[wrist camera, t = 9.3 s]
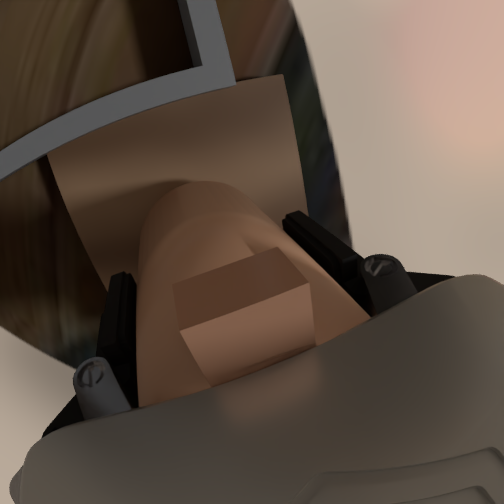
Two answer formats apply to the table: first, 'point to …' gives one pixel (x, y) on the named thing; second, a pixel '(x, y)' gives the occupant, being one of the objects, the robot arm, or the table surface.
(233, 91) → the board
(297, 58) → the table surface
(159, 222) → the tan tapered capsule
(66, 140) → the holder frame
